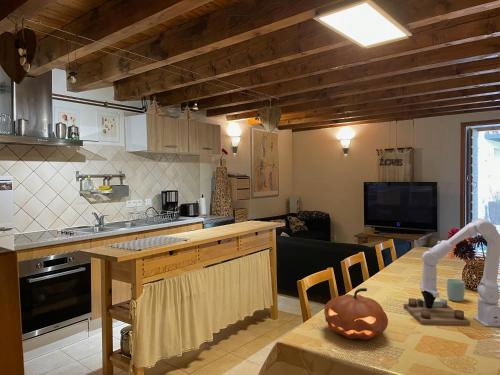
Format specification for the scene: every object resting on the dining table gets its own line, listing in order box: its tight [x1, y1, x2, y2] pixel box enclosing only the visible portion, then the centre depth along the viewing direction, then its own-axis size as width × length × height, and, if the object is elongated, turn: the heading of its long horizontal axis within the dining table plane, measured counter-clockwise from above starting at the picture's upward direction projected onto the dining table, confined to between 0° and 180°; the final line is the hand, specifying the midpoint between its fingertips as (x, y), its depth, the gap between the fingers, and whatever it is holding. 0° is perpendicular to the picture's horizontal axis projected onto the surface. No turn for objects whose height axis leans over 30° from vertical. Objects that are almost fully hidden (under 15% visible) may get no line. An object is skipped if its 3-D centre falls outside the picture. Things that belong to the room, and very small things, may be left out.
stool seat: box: [403, 297, 471, 327], centre depth 163 cm, size 20×20×5 cm
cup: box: [446, 278, 466, 303], centre depth 184 cm, size 8×8×10 cm
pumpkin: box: [323, 287, 389, 341], centre depth 145 cm, size 25×25×19 cm
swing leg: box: [416, 298, 448, 307], centre depth 170 cm, size 13×3×3 cm, turn 87°
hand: (428, 308), depth 164 cm, fingers closed
